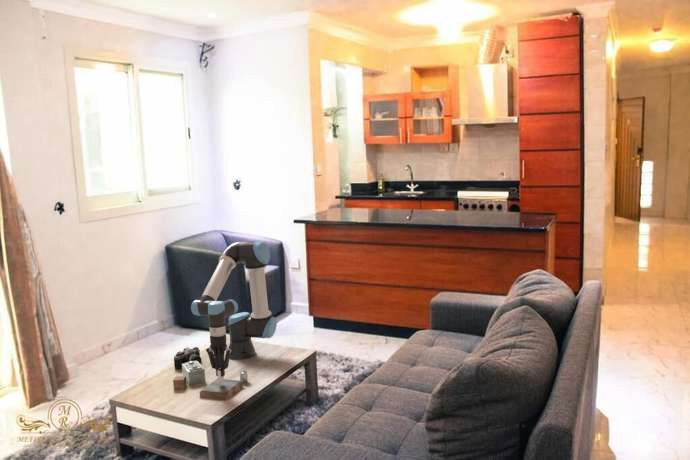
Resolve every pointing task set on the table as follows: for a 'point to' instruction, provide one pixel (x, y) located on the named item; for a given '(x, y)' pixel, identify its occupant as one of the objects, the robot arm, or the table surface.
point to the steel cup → (243, 377)
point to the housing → (193, 372)
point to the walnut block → (179, 382)
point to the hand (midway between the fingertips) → (221, 382)
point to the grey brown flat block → (221, 389)
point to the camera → (186, 356)
